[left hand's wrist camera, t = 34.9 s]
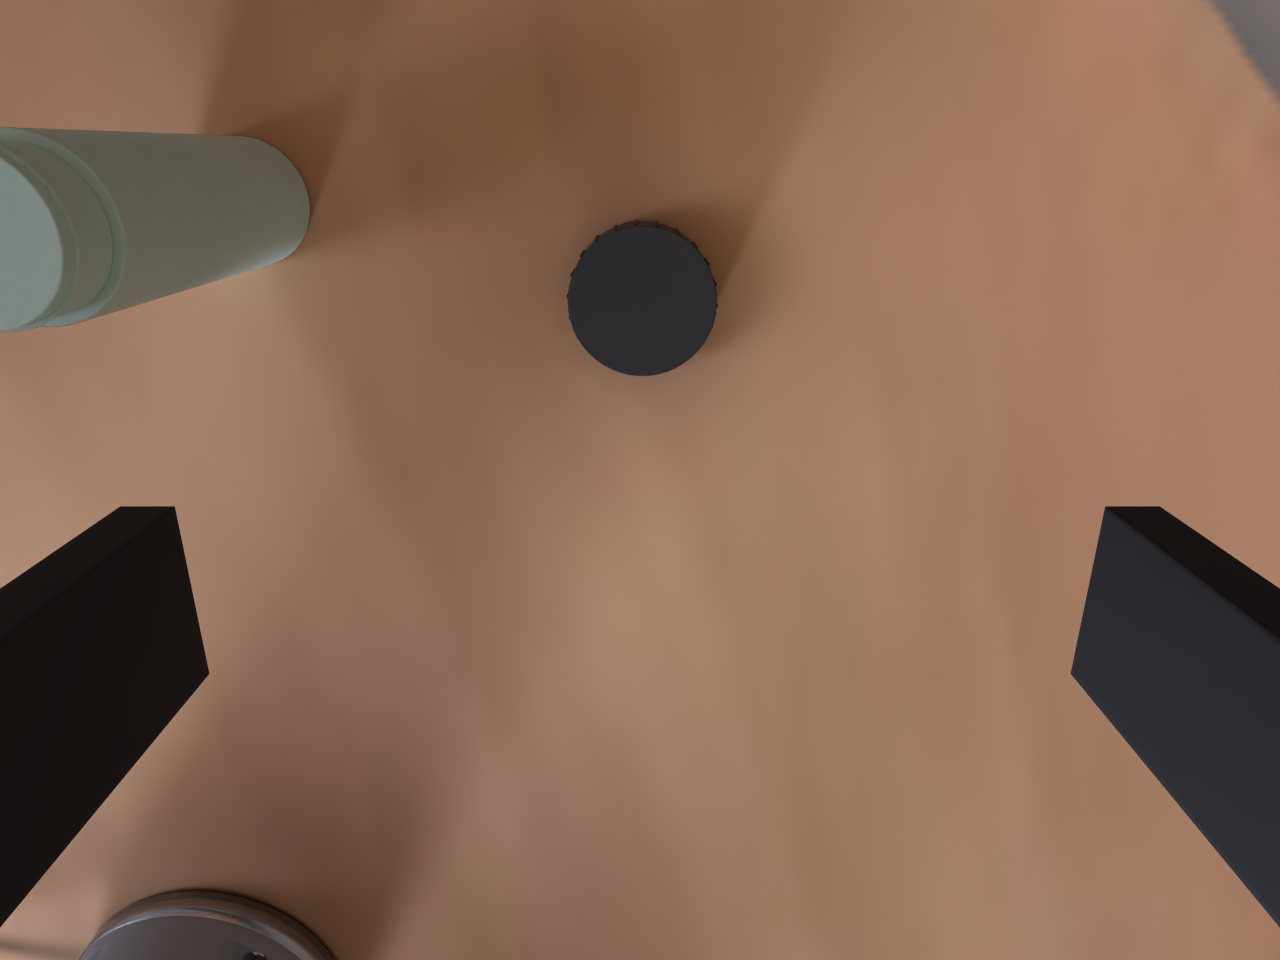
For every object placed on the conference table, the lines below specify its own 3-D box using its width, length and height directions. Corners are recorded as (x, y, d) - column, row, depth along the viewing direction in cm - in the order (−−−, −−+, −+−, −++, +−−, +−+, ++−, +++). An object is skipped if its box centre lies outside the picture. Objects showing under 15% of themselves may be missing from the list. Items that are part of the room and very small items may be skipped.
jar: (288, 125, 35) (22, 105, 20) (325, 253, 37) (108, 325, 22) (167, 148, 35) (-185, 146, 20) (210, 274, 37) (-83, 359, 22)
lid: (554, 239, 36) (548, 244, 34) (698, 204, 36) (702, 208, 34) (589, 377, 39) (586, 391, 36) (726, 347, 38) (731, 359, 36)
